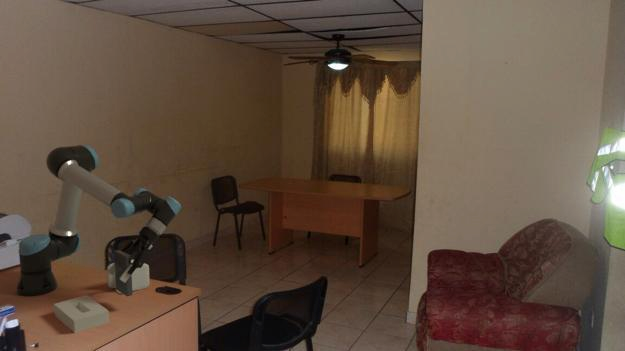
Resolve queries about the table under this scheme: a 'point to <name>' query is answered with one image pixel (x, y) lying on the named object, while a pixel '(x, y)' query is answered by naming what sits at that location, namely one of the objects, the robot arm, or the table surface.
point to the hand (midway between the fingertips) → (115, 277)
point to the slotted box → (81, 313)
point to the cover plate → (120, 267)
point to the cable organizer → (133, 278)
